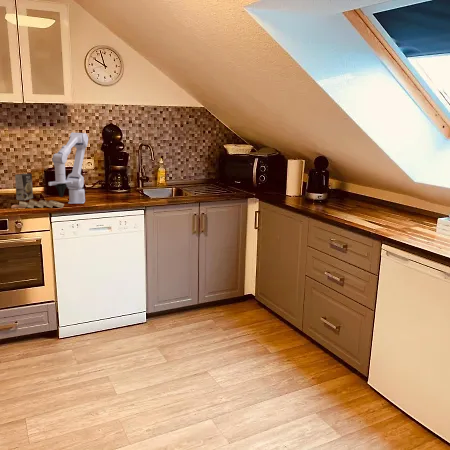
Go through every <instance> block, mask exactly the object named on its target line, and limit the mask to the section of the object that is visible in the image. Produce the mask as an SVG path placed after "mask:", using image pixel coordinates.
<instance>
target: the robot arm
mask: <svg viewBox="0 0 450 450" xmlns="http://www.w3.org/2000/svg"><path fill="white" fill-rule="evenodd" d="M88 143H89V137H88V134H87V133H86V132H73V131H72V132H71V133H70V134H69V140H68V141H67V143H66V145H62V146H61V147H60V149H59V150H58V151H57V153H56V152H55V153H54V154H53V155H52V159H51V160H52V163H53V166H54V174H55V175H54V176H55V177H54V178H55V180H53V181H48V183H47V184H48V185H47V186H50V187H51V186H54V187H55V189H56V190H57V192H58V193H57V194H58V196H59V197H60V198H63V197H64V194H65V190H66V189H68V196H69V197H68V198H69V201H68V202H67V204H71V205H72V204H75V205H76V204H85V202H86V194H85V193H86V191H85V188H84V184H85V177H84V176H83V175H82V170H83V164H84V158H85V152H86V148H87V147H88ZM73 147H74V148H76V151H75V156H74V160H73V161H74V162H73V166H72V171H71V172H70V173H68V175H67V176H66V163H67V162H68V156H69V155H70V154H71V153H72V149H73Z"/></svg>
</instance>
